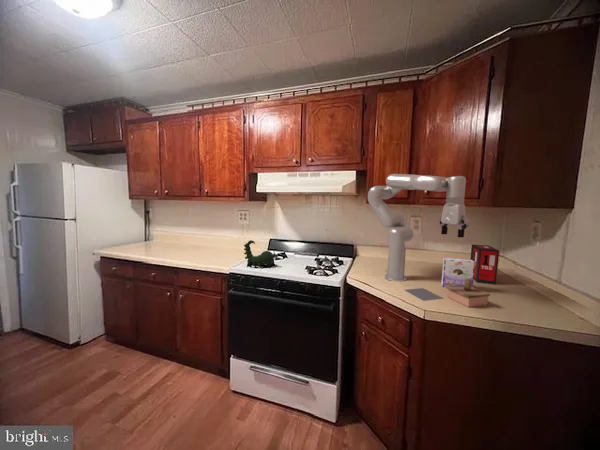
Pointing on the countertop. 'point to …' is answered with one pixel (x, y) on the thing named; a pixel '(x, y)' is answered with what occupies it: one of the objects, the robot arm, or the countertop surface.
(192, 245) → the countertop surface
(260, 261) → the toy figurine
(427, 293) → the grey flat piece
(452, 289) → the lid
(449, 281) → the candy box
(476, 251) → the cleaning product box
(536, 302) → the countertop surface
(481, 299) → the pink square tray
